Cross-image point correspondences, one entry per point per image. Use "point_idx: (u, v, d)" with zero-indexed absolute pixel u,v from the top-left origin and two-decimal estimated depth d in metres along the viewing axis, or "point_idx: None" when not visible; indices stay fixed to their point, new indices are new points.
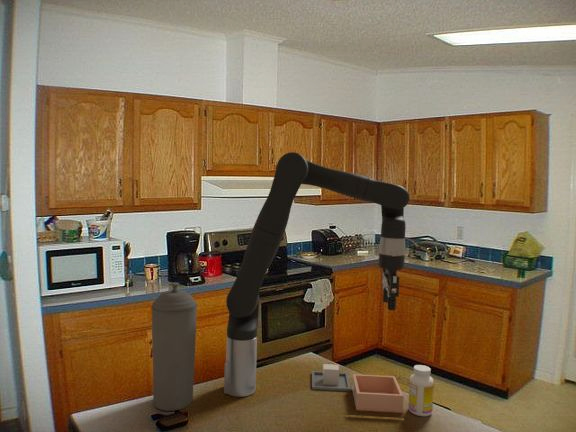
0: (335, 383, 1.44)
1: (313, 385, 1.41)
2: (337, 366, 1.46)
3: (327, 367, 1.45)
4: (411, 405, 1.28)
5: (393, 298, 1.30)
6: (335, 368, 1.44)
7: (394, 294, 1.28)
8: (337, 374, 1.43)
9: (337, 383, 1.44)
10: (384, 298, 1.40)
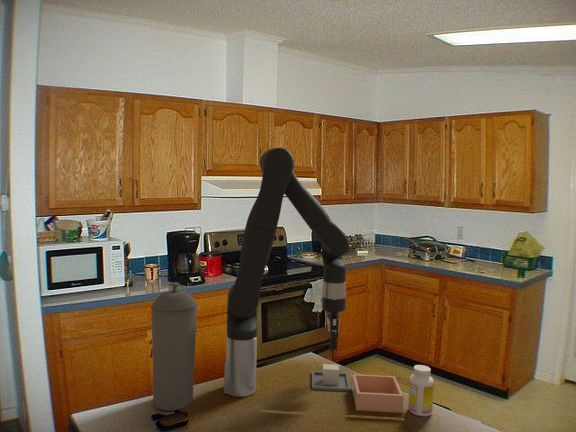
0: (335, 383, 1.44)
1: (313, 385, 1.41)
2: (337, 366, 1.46)
3: (327, 367, 1.45)
4: (411, 405, 1.28)
5: (334, 339, 1.39)
6: (335, 368, 1.44)
7: (334, 336, 1.38)
8: (337, 374, 1.43)
9: (337, 383, 1.44)
10: (329, 336, 1.49)
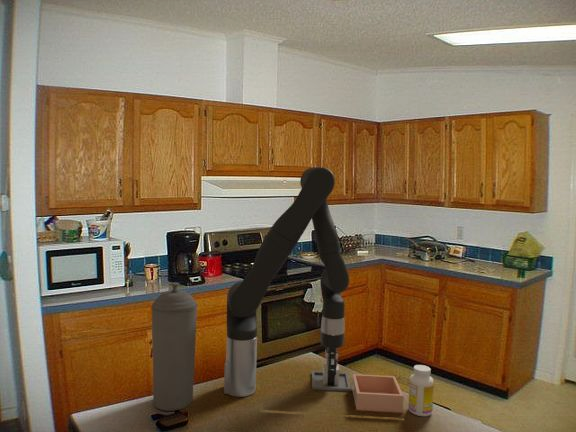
0: (335, 383, 1.44)
1: (313, 385, 1.41)
2: (337, 366, 1.46)
3: (327, 367, 1.45)
4: (411, 405, 1.28)
5: (332, 375, 1.42)
6: None
7: (332, 372, 1.40)
8: (337, 374, 1.43)
9: (337, 383, 1.44)
10: None
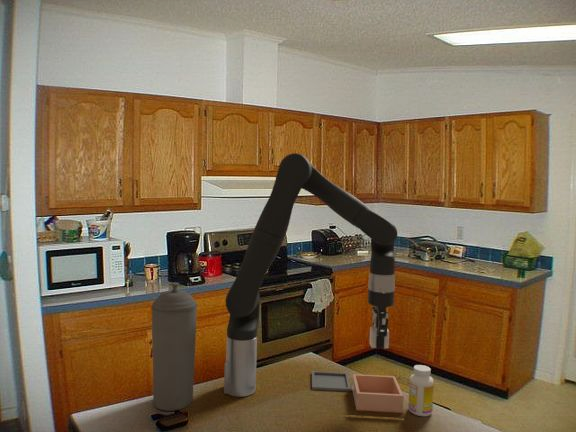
0: (385, 346, 1.31)
1: (313, 385, 1.41)
2: None
3: (375, 329, 1.32)
4: (411, 405, 1.28)
5: (381, 337, 1.30)
6: None
7: (382, 333, 1.28)
8: (387, 336, 1.31)
9: (387, 346, 1.31)
10: None
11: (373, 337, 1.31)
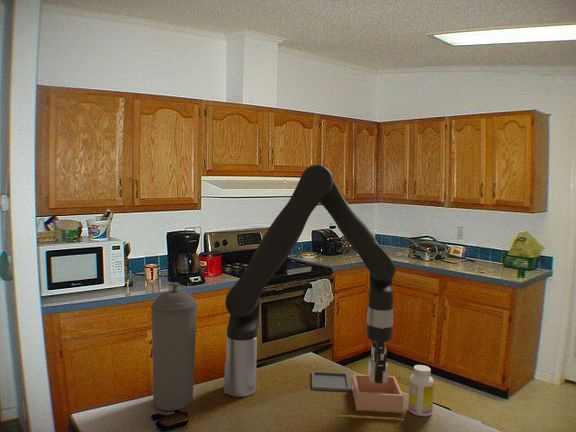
0: (384, 380, 1.32)
1: (313, 385, 1.41)
2: None
3: (374, 363, 1.33)
4: (411, 405, 1.28)
5: (380, 372, 1.30)
6: None
7: (381, 369, 1.28)
8: (385, 371, 1.32)
9: (385, 380, 1.32)
10: None
11: (372, 371, 1.32)
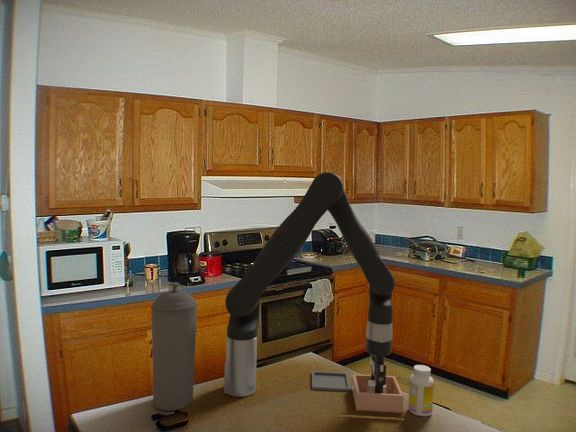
0: None
1: (313, 385, 1.41)
2: None
3: (373, 384, 1.33)
4: (411, 405, 1.28)
5: (380, 386, 1.29)
6: None
7: (381, 383, 1.27)
8: (384, 392, 1.32)
9: None
10: None
11: (370, 392, 1.32)
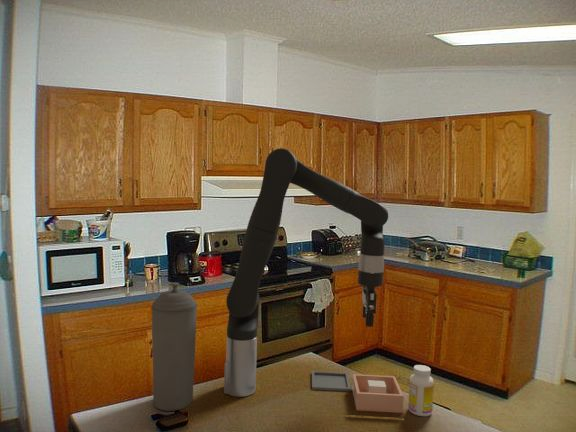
0: None
1: (313, 385, 1.41)
2: (383, 383, 1.34)
3: (373, 384, 1.33)
4: (411, 405, 1.28)
5: (371, 315, 1.31)
6: (381, 385, 1.33)
7: (371, 311, 1.30)
8: (384, 392, 1.32)
9: None
10: (364, 314, 1.41)
11: (370, 392, 1.32)
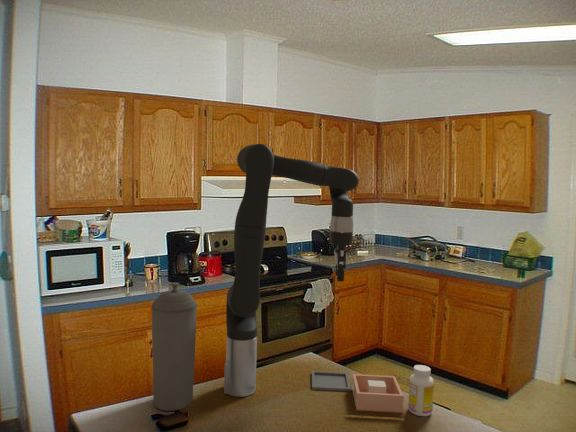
0: None
1: (313, 385, 1.41)
2: (383, 383, 1.34)
3: (373, 384, 1.33)
4: (411, 405, 1.28)
5: (341, 270, 1.45)
6: (381, 385, 1.33)
7: (341, 266, 1.43)
8: (384, 392, 1.32)
9: None
10: (336, 272, 1.54)
11: (370, 392, 1.32)
